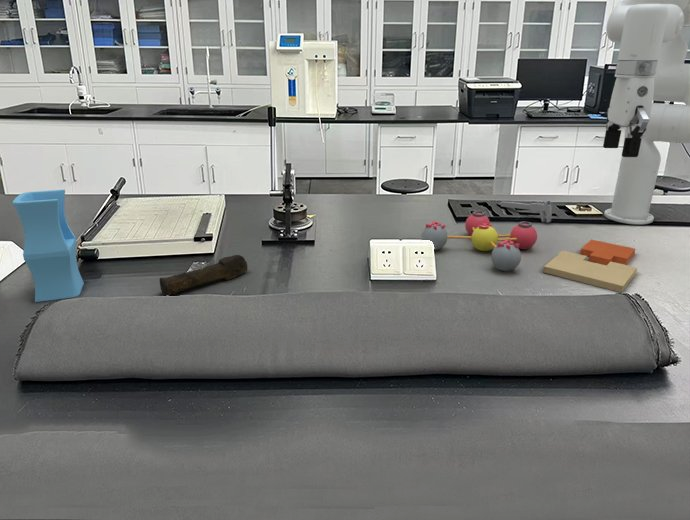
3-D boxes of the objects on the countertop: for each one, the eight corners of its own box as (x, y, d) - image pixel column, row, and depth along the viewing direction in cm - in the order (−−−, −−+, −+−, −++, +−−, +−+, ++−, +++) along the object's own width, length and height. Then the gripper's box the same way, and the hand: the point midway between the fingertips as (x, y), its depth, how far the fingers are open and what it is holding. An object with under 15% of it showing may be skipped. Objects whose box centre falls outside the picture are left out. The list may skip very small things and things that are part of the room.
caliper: (550, 223, 147) (554, 201, 145) (547, 224, 147) (551, 202, 144) (499, 204, 164) (502, 184, 161) (497, 205, 163) (499, 185, 161)
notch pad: (561, 256, 125) (562, 250, 124) (636, 273, 116) (637, 267, 115) (543, 272, 116) (544, 266, 116) (621, 292, 107) (623, 285, 106)
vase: (78, 296, 106) (57, 200, 98) (34, 302, 104) (9, 203, 96) (84, 280, 113) (65, 189, 105) (43, 285, 111) (21, 192, 103)
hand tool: (166, 300, 104) (163, 279, 102) (159, 293, 107) (156, 272, 105) (253, 277, 115) (251, 257, 113) (244, 270, 118) (243, 251, 116)
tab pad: (590, 245, 132) (591, 239, 131) (634, 254, 126) (635, 248, 125) (576, 258, 124) (577, 252, 123) (622, 268, 118) (623, 262, 118)
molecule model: (415, 249, 129) (416, 224, 127) (461, 228, 144) (463, 205, 141) (510, 278, 114) (514, 250, 111) (552, 251, 128) (556, 226, 125)
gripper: (676, 72, 102) (656, 160, 109) (635, 67, 118) (620, 144, 125) (636, 72, 102) (619, 160, 109) (600, 67, 118) (587, 144, 125)
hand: (619, 152), depth 117 cm, fingers open, 9 cm apart
